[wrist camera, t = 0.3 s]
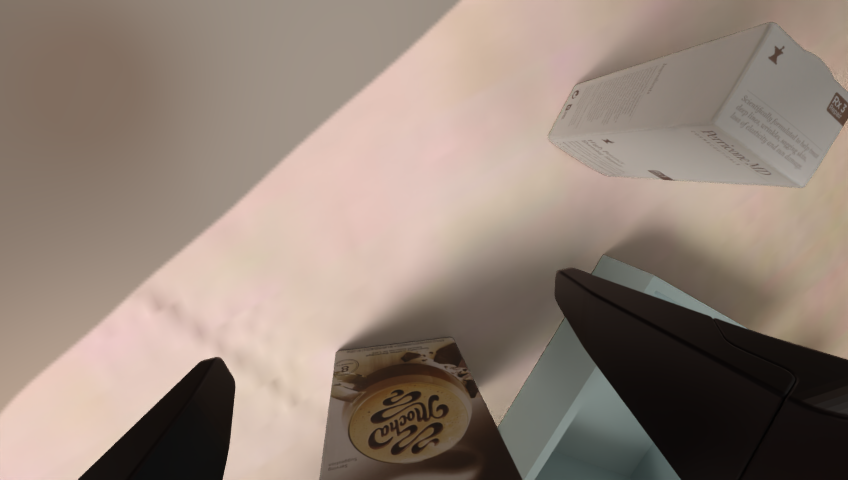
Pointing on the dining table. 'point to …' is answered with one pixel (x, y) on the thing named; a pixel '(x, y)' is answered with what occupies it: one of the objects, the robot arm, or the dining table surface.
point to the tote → (586, 405)
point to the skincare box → (710, 114)
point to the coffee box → (410, 417)
